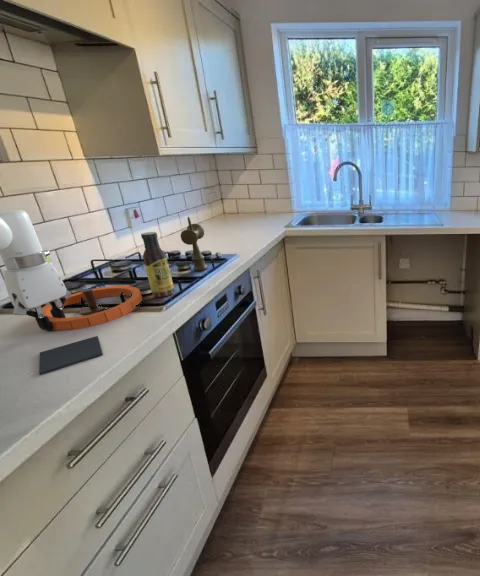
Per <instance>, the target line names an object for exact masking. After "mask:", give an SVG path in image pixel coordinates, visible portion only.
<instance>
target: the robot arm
mask: <svg viewBox="0 0 480 576" xmlns="http://www.w3.org/2000/svg"><path fill="white" fill-rule="evenodd" d="M36 232H37V231H36V230H35V228H34V225H33V222H32V220H31V218H30V216H29V214H28V212H26V211H25V210H24V209H19V208H10V209H9V208H8V209H0V257H1V260H2V262H3V264H4V266H5V270H3V271H2V274H3V282H4V285H5V288H6V291H7V295H8V297H9V300H10V302H11V304H12V306H13V315H14V316H29V317H31V318H34V320H35V321H36V324H37V326H38V327H39V329H41V330H43V331H48V332H49V331H53V330H52V329H53V328H52V325H51V323H50V321H49V318H48V317H47V316H44V313H43V310H42V307H43V305H47V304H50V306H51V308H52V309H51V311H50V312H51V314H52V317H54V318H66V315H65V312H64V311H63V310H64V309H63V308H64V306H63V305H64V303H65V301H66V299H67V298H68V297H69V296H70V295H72V292H71V291H70V290H69V289H67V288H66V285H65V283H64V281H63V279H62V277H61V275H60V273H59V271H58V270H57V269H56V267H55V266H54V265H53V263H52V262H51V260H50V261H47V257H46V256H48V257H49V256H50V255H51V253H50V251H49V250H44V249H43V246H42V244H41V242H40V240H39V237H38V235H37V233H36Z"/></svg>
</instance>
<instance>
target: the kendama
mask: <svg viewBox="0 0 480 576" xmlns="http://www.w3.org/2000/svg"><path fill="white" fill-rule="evenodd" d="M187 223H188V226H187V227H186V229H183V230H182V231H181V233H180V239H181V241H182V242H183V244H185V245H187V246H189V245H190V246H192V257H191V260H192V261H193V268H192V270H193V271H195V272H202V271H205V270H207V269H208V267H209V266H208V264H206V262H205V255H203V254H202V252H201V249H200V247H199V244H198V240H201V239H202V238H204V236H205V229H204V227H203V226H202V225H201V224H199V223H192V221H191V218H190V216H188V217H187Z"/></svg>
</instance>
